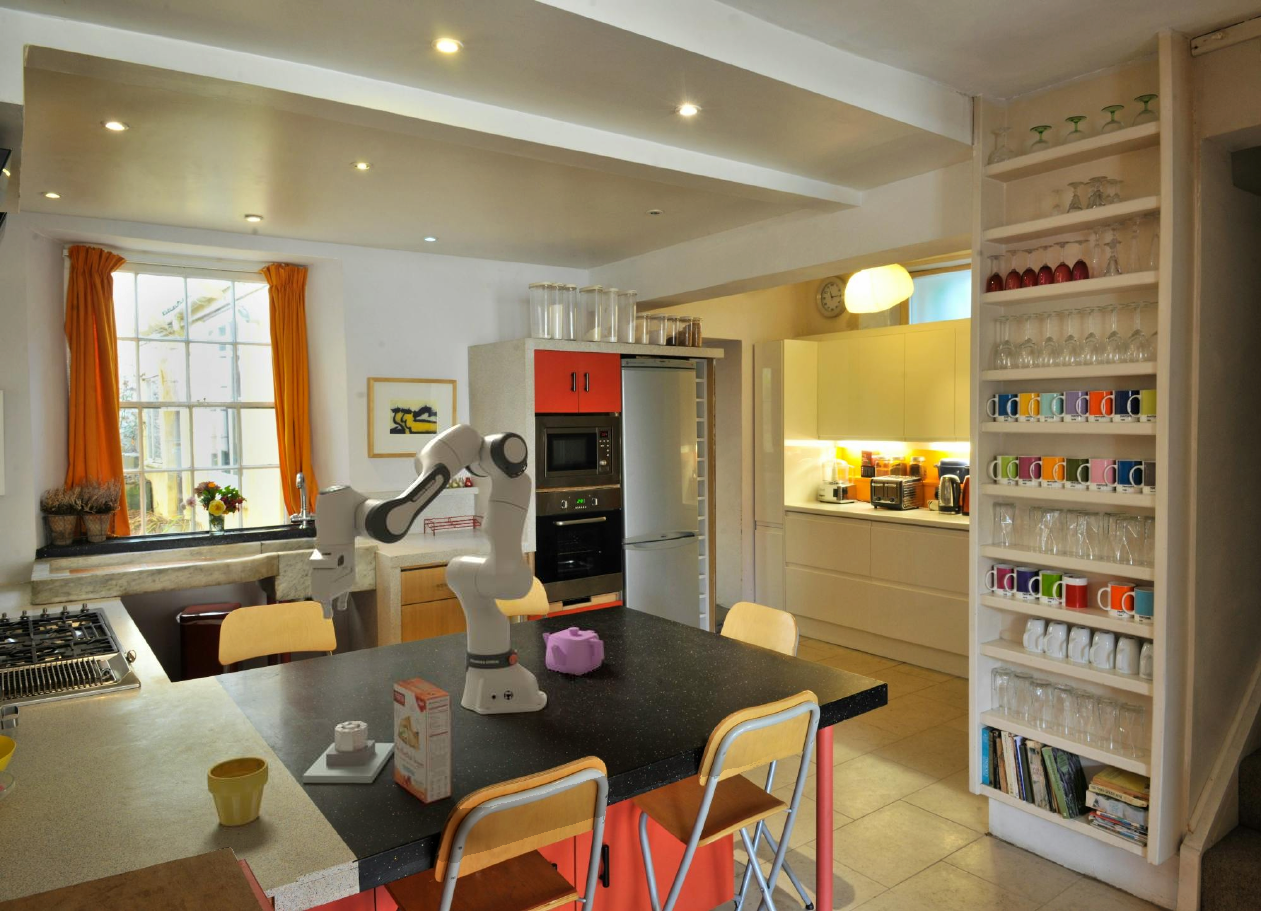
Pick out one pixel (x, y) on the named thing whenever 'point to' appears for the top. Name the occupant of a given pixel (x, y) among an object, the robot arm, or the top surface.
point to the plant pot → (238, 789)
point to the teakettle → (573, 651)
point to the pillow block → (349, 764)
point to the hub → (351, 737)
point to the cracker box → (422, 739)
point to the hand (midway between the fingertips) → (335, 613)
